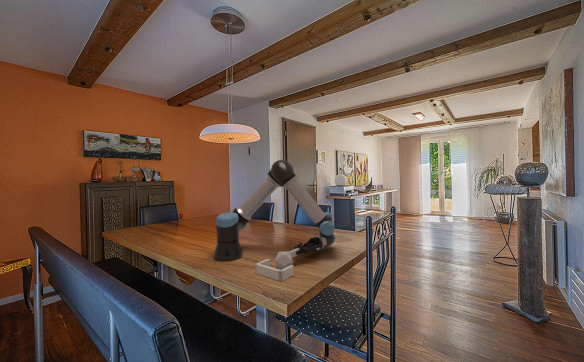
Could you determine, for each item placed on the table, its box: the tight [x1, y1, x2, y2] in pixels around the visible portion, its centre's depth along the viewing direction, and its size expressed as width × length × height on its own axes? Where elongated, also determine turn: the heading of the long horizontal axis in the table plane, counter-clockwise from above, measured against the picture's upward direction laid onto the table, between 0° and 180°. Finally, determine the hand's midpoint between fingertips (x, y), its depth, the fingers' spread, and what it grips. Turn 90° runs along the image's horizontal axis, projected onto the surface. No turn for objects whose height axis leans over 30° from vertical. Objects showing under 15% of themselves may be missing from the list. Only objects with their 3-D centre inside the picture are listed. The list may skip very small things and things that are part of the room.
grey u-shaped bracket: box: [253, 258, 295, 282], centre depth 109 cm, size 16×8×4 cm, turn 51°
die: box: [274, 251, 294, 270], centre depth 115 cm, size 8×9×10 cm
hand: (290, 254), depth 117 cm, fingers closed
